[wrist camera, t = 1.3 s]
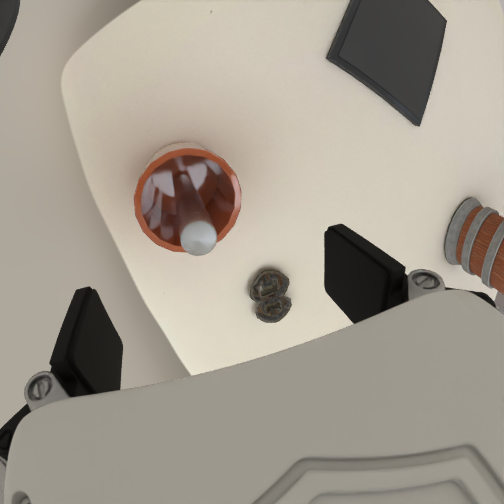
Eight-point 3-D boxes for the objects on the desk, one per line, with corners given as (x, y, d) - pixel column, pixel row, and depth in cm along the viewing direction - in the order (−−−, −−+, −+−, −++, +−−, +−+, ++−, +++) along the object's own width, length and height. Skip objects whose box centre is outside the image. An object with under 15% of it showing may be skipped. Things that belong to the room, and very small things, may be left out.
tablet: (325, 58, 24) (330, 57, 23) (370, -46, 17) (374, -48, 16) (415, 126, 30) (420, 126, 30) (443, 21, 24) (447, 20, 23)
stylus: (170, 188, 25) (176, 251, 13) (176, 170, 25) (186, 217, 13) (188, 193, 26) (210, 259, 14) (194, 175, 26) (222, 227, 14)
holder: (134, 208, 26) (123, 239, 19) (157, 131, 23) (153, 134, 16) (205, 226, 29) (220, 262, 22) (232, 155, 26) (257, 168, 19)
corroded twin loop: (256, 323, 36) (258, 329, 35) (242, 274, 32) (245, 279, 31) (291, 310, 37) (295, 315, 36) (283, 260, 33) (286, 264, 32)
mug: (449, 203, 38) (518, 238, 26) (492, 189, 42) (546, 214, 29) (437, 272, 45) (493, 314, 32) (483, 246, 49) (529, 276, 36)
